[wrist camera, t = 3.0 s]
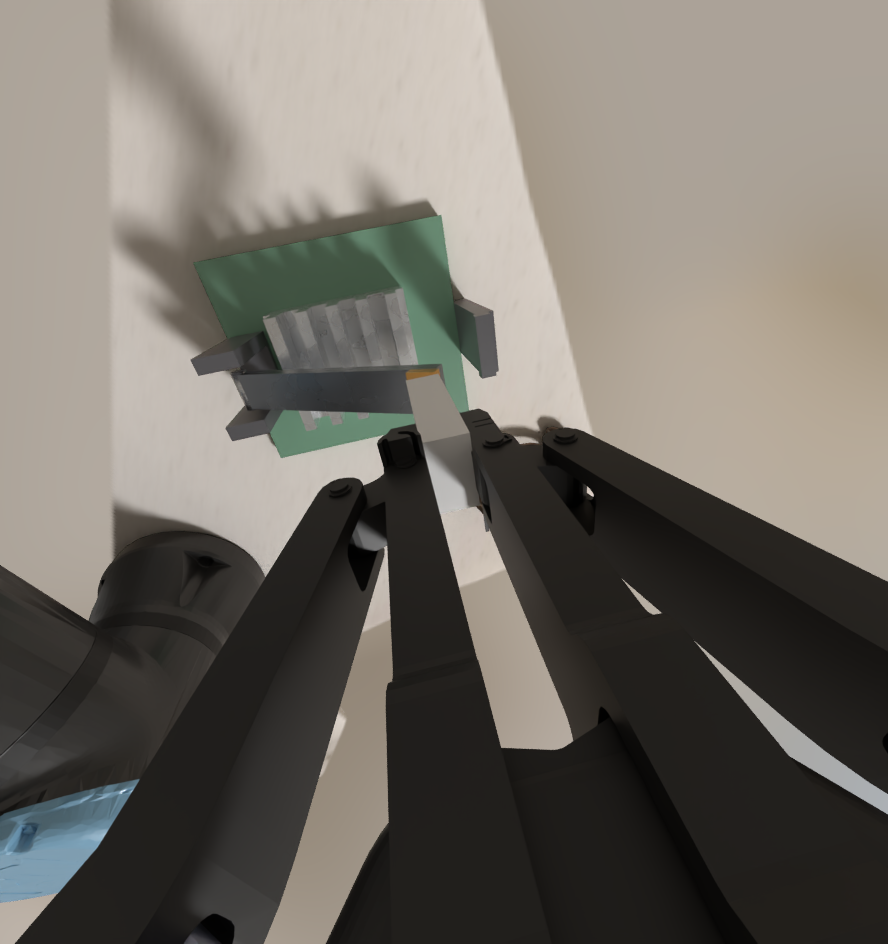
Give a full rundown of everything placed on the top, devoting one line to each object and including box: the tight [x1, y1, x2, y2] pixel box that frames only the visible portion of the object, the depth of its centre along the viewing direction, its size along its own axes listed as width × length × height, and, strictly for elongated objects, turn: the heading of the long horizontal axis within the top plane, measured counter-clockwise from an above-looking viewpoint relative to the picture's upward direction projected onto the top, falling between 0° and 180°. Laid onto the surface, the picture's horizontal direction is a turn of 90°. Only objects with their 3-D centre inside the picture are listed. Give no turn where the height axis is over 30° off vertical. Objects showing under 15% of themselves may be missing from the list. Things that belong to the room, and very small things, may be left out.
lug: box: [454, 299, 499, 379], centre depth 29 cm, size 1×4×9 cm, turn 9°
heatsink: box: [263, 286, 418, 431], centre depth 29 cm, size 10×8×5 cm
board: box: [194, 215, 469, 458], centre depth 32 cm, size 18×16×1 cm
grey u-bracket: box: [191, 331, 283, 441], centre depth 28 cm, size 3×6×7 cm, turn 10°
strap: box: [230, 364, 446, 414], centre depth 22 cm, size 16×3×1 cm
